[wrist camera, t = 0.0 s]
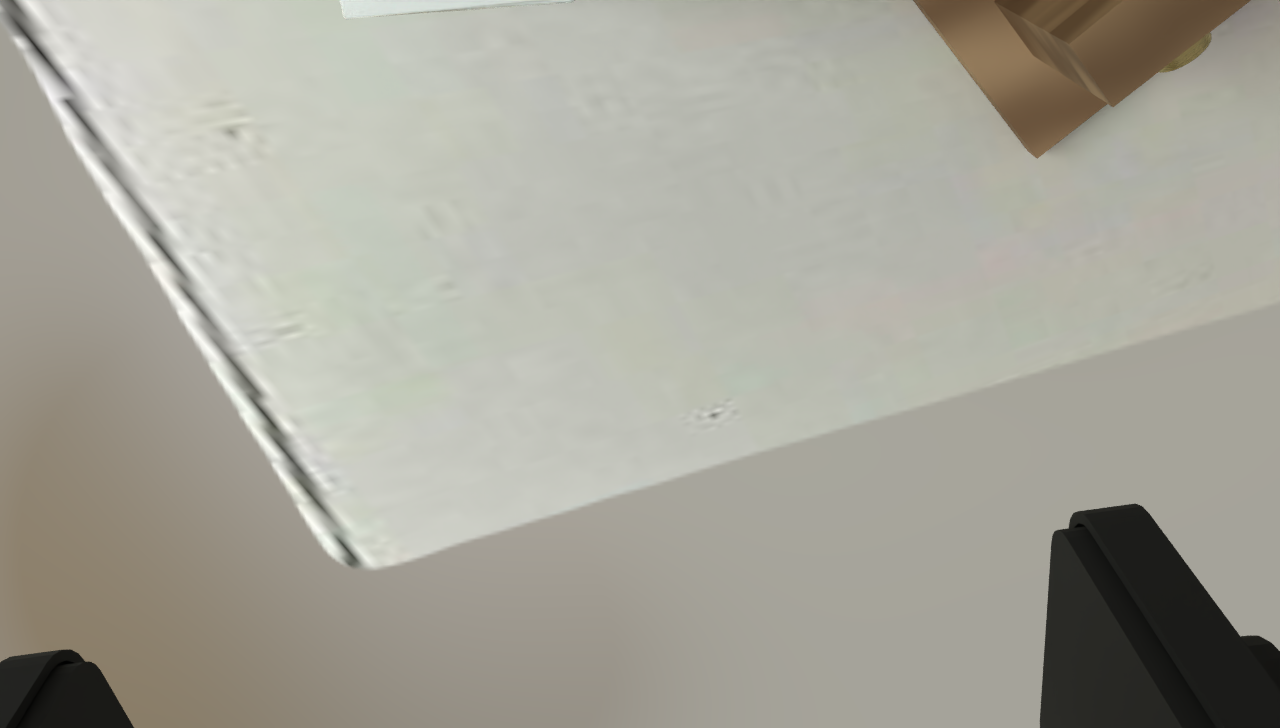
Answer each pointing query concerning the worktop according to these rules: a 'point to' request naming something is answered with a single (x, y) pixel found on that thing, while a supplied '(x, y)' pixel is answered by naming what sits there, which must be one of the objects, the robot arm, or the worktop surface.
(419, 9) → the supplement box
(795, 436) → the worktop surface
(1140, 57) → the eye post
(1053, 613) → the robot arm
